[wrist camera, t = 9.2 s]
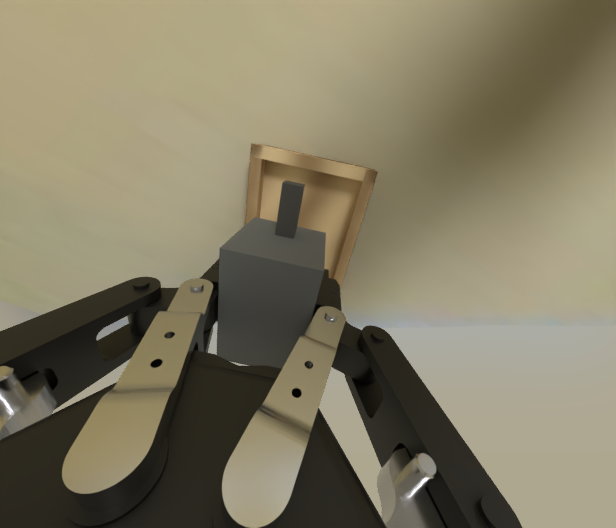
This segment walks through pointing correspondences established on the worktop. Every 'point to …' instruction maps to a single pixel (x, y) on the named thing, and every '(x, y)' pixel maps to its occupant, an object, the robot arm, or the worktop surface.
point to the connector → (269, 285)
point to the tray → (313, 197)
